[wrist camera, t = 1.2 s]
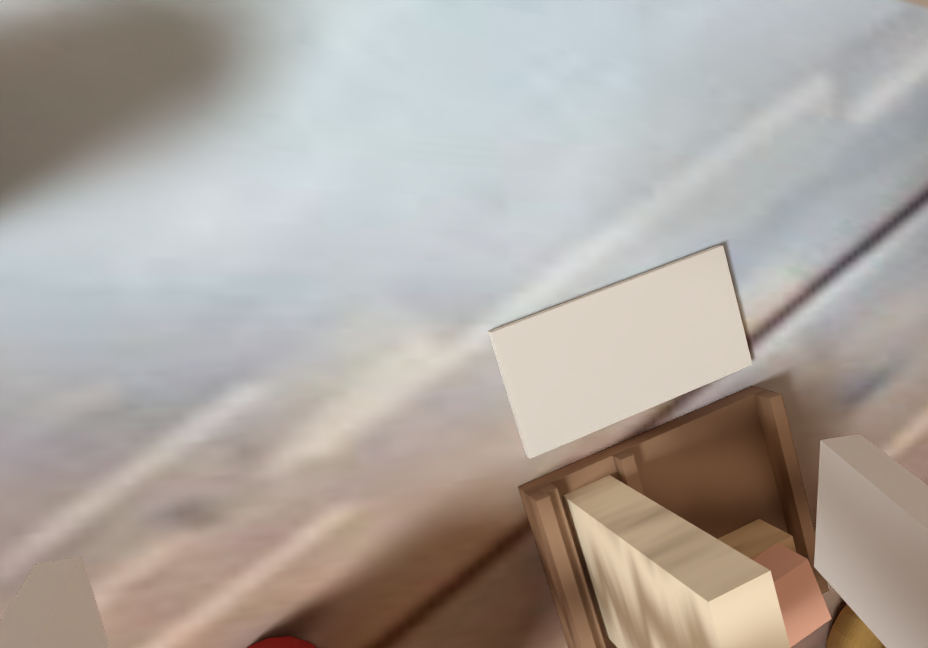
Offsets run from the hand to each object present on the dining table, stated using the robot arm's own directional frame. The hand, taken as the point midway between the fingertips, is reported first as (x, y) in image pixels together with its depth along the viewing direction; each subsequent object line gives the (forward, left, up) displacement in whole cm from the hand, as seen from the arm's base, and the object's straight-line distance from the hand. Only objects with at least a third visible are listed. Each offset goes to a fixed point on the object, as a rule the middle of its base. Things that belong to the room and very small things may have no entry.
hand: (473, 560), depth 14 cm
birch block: (-17, -12, -27) cm, 34 cm away
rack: (-18, -17, -28) cm, 37 cm away
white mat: (-6, -17, -28) cm, 34 cm away
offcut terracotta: (-21, -19, -24) cm, 37 cm away
